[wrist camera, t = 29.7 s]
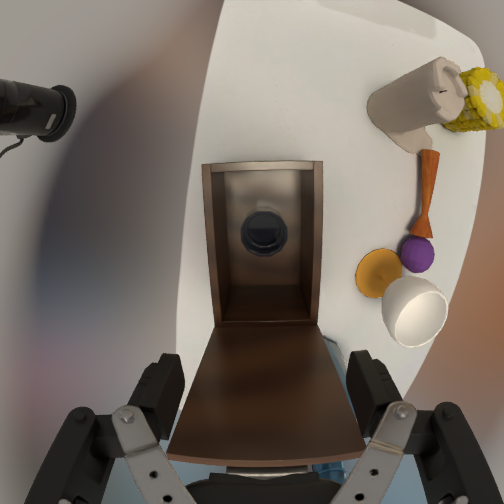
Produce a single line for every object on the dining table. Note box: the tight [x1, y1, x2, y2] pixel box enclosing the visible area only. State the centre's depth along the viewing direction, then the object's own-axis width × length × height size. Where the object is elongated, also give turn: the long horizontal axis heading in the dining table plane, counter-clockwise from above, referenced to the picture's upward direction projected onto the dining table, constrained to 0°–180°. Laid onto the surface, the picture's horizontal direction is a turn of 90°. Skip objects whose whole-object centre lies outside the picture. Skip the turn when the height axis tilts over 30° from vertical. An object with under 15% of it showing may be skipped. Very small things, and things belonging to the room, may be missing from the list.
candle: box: [367, 57, 468, 157], centre depth 28 cm, size 7×14×20 cm, turn 57°
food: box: [442, 67, 504, 132], centre depth 29 cm, size 15×12×10 cm
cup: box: [356, 249, 448, 348], centre depth 37 cm, size 9×9×16 cm
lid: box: [166, 325, 366, 480], centre depth 25 cm, size 21×13×5 cm
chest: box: [202, 161, 323, 327], centre depth 38 cm, size 20×13×12 cm, turn 2°
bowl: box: [240, 206, 288, 257], centre depth 40 cm, size 6×6×5 cm
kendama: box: [401, 149, 440, 273], centre depth 39 cm, size 6×6×20 cm
